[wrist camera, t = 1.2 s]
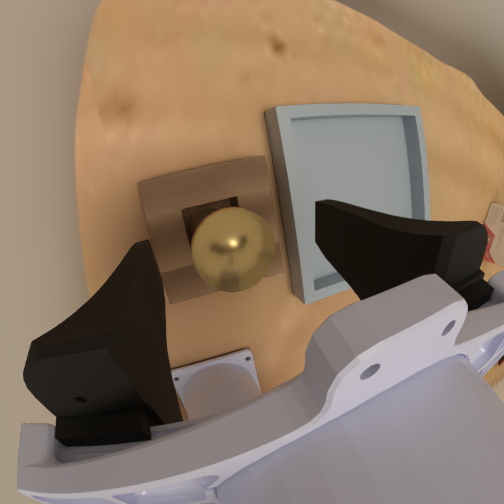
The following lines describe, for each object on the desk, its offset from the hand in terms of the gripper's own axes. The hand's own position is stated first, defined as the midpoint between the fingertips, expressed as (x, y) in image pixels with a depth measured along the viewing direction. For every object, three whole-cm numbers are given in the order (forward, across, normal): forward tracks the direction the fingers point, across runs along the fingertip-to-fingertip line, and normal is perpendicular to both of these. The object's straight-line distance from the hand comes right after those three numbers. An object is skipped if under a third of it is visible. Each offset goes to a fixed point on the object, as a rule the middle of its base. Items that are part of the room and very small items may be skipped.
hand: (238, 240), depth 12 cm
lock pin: (+10, 0, +4) cm, 11 cm away
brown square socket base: (+10, 0, +4) cm, 11 cm away
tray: (+11, -14, +4) cm, 18 cm away
